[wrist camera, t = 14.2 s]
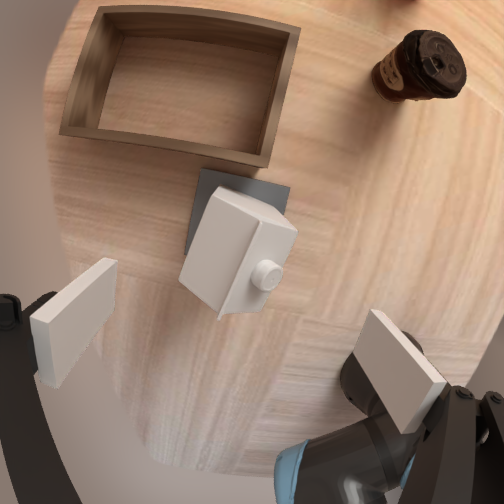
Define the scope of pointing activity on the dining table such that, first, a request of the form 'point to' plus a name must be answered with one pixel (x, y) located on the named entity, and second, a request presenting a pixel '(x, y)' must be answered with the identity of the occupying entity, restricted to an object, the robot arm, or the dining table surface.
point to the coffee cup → (420, 69)
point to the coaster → (248, 186)
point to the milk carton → (237, 253)
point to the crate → (184, 28)
